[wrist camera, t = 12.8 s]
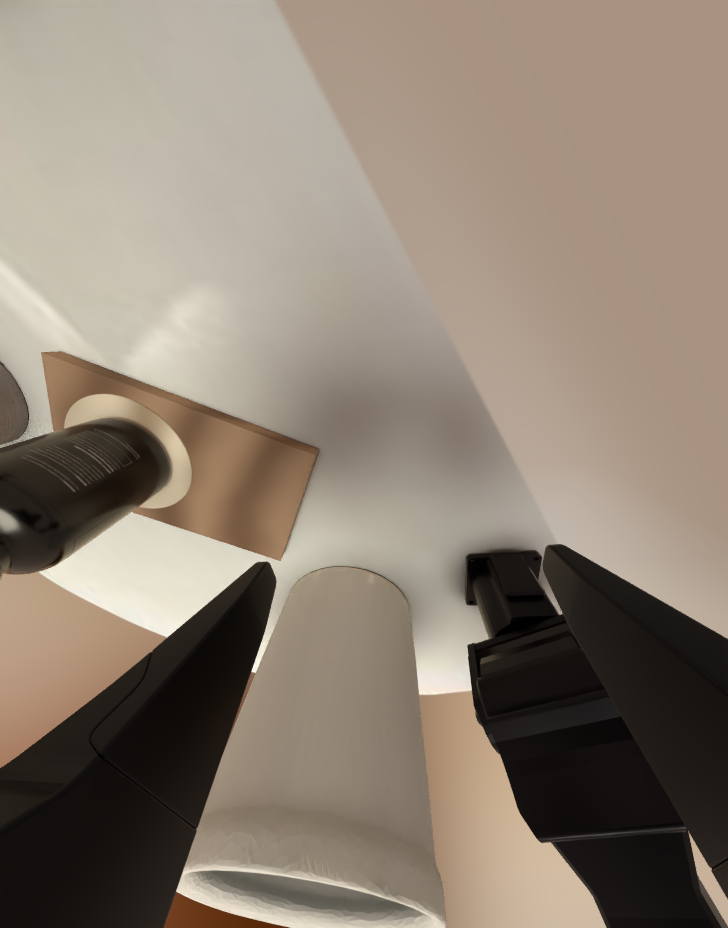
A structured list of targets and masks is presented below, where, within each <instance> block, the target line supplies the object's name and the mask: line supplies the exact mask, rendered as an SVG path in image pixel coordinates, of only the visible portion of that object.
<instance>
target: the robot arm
mask: <svg viewBox="0 0 728 928" xmlns="http://www.w3.org/2000/svg"><path fill="white" fill-rule="evenodd" d="M472 560H473V561H472ZM541 561H542V557H541V555H540V554H539V553H538V552H517V553H499V554H481V555H470V556H468V557H467V558H466V585H465V600H466V603H467V605H471V606H472V605H478V608H479V610H480V613H481V616H482V619H483V622H484V625H485V628H486V631H487V634H488V636H489V639H488V640H485V641H482V642H479V643H476V644H474V643H472V644H469V645H468V654H469V656H468V660H469V668H470V677H471V685H472V694H473V702H474V707H475V710H476V718H477V721H478V723H479V724H480V725H481V726H483V728H484V730H485V733H486V735H487V737H488V739H489V740H490V743H491V744H492V746H493V747H494V749H495V750H496V751H497V752H498V753H499V754H500V755H501V758H502V761H503V763H504V766H505V769H506V772H507V775H508V778H509V782H510V784H511V788H512V791H513V794H514V797H515V801H516V804H517V807H518V810H519V812H520V814H521V816H522V817H523V819H524V820H525V822H526V823H527V825H528V826H529V828H530V829H531V831H532V832H533V834H534V835H535V837H536V838H537V839H538V840H539V841H540V842H541V843H546V842H551V843H552V844H553V845H554V847H555V848H556V849H557V850H558V852H559V853H560V854H561V856H562V857H563V858H564V859H565V861H566V862H567V863H568V864H569V866H570V867H571V868H572V870H573V871H574V872H575V873H576V875H577V876H578V877H579V878H580V880H581V881H582V882H583V883H584V885H585V886H586V887H587V888H588V890H589V891H590V893H591V894H592V895H593V897H594V899H595V902H596V904H597V906H598V909H599V911H600V913H601V916H602V918H603V920H604V923H605V925H606V927H607V928H728V926H727V924H726V923H725V921H724V919H723V918H722V916H721V914H720V913H719V911H718V909H717V908H716V906H715V904H714V903H713V901H712V899H711V898H710V896H709V894H708V893H707V891H706V889H705V888H704V886H703V884H702V882H701V881H700V880H699V877H698V876H697V872H696V867H695V862H694V857H693V852H692V847H691V843H690V838H689V833H690V834H691V836H692V838H693V840H694V841H695V843H696V845H697V846H698V848H699V850H700V852H701V853H702V855H703V857H704V858H705V860H706V862H707V864H708V865H709V867H711V868H712V873H713V874H714V876H715V878H716V880H717V881H718V883H719V885H720V886H721V888H722V890H723V892H724V893H725V895H726V897H727V899H728V639H727V638H725V637H723V636H722V635H720V634H718V633H716V632H715V631H713V630H711V629H709V628H708V627H706V626H704V625H702V624H701V623H699V622H697V621H695V620H693V619H692V618H690V617H689V616H687V615H685V614H683V613H682V612H680V611H678V610H676V609H674V608H673V607H671V606H669V605H668V604H665V603H664V602H662V601H661V600H659V599H657V598H655V597H654V596H652V595H650V594H648V593H647V592H645V591H643V590H641V589H640V588H638V587H636V586H634V585H633V584H631V583H629V582H627V581H626V580H624V579H622V578H620V577H619V576H617V575H615V574H613V573H612V572H610V571H608V570H606V569H605V568H603V567H601V566H599V565H598V564H596V563H594V562H592V561H591V560H589V559H587V558H586V557H584V556H582V555H580V554H579V553H577V552H575V551H573V550H572V549H570V548H568V547H566V546H564V545H562V544H556V545H548V546H547V547H546V549H545V554H544V559H543V571H544V574H545V576H546V578H547V580H548V582H549V585H550V587H551V589H552V591H553V593H554V595H555V598H556V600H557V602H558V604H559V606H560V609H561V611H562V613H563V614H561V615H559V614H558V612H557V611H556V609H555V607H554V606H553V604H552V603H551V601H550V599H549V598H548V596H547V595H546V593H545V591H544V589H543V588H542V586H541V584H540V583H539V581H538V577H539V572H540V566H541ZM275 588H276V577H275V574H274V572H273V569H272V567H271V565H270V563H269V562H257V563H255V564H254V565H253V566H252V567H251V568H249V569H248V570H247V571H246V572H245V573H243V574H242V575H241V576H240V577H239V578H238V579H236V580H235V581H234V582H233V583H232V584H230V585H229V586H228V587H227V588H226V589H225V590H223V591H222V592H221V593H220V594H219V595H217V596H216V597H215V598H214V599H213V600H212V601H210V602H209V603H208V604H207V605H206V606H204V607H203V608H202V609H201V610H200V611H198V612H197V613H196V614H195V615H194V616H193V617H191V618H190V619H189V620H188V621H187V622H185V623H184V624H183V625H182V626H181V627H180V628H178V629H177V630H176V631H175V632H174V633H172V634H171V635H170V636H169V637H168V638H166V639H165V640H164V641H163V642H162V643H161V644H159V645H158V646H157V647H156V648H155V649H154V650H153V651H152V652H150V653H149V654H147V655H146V656H145V657H144V658H143V659H142V660H140V661H139V662H138V663H137V664H136V665H134V666H133V667H132V668H131V669H130V670H128V671H127V672H126V673H125V674H123V675H122V676H121V677H120V678H119V679H117V680H116V681H115V682H114V683H113V684H111V685H110V686H109V687H107V688H106V689H105V690H103V691H102V692H101V693H100V694H98V695H97V696H96V697H95V698H93V699H92V700H91V701H89V702H88V703H87V704H86V705H84V706H83V707H82V708H80V709H79V710H78V711H76V712H75V713H74V714H73V715H71V716H70V717H69V718H67V719H66V720H65V721H63V722H62V723H61V724H59V725H58V726H57V727H56V728H54V729H53V730H52V731H50V732H49V733H48V734H46V735H45V736H44V737H42V738H41V739H40V740H39V741H37V742H36V743H35V744H33V745H32V746H31V747H29V748H28V749H27V750H25V751H24V752H23V753H21V754H20V755H19V756H17V757H16V758H15V759H13V760H12V761H11V762H9V763H7V764H6V765H5V766H3V767H1V768H0V928H164V925H165V923H166V919H167V917H168V913H169V911H170V908H171V905H172V902H173V899H174V896H175V893H176V890H177V888H178V885H179V882H180V879H181V876H182V873H183V870H184V867H185V864H186V861H187V858H188V855H189V852H190V850H191V847H192V844H193V841H194V838H195V835H196V832H197V828H198V825H199V823H200V820H201V817H202V814H203V811H204V808H205V805H206V802H207V799H208V796H209V793H210V790H211V788H212V785H213V782H214V779H215V776H216V773H217V770H218V767H219V764H220V761H221V758H222V755H223V752H224V750H225V747H226V744H227V741H228V738H229V735H230V732H231V729H232V726H233V723H234V720H235V717H236V714H237V712H238V709H239V706H240V703H241V700H242V697H243V694H244V691H245V688H246V685H247V682H248V679H249V676H250V674H251V671H252V668H253V665H254V662H255V659H256V656H257V653H258V650H259V647H260V644H261V641H262V639H263V635H264V632H265V629H266V625H267V621H268V617H269V613H270V609H271V604H272V600H273V596H274V592H275ZM688 831H689V833H688Z"/></svg>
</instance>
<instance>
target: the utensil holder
mask: <svg viewBox="0 0 728 928" xmlns="http://www.w3.org/2000/svg"><path fill="white" fill-rule="evenodd" d="M430 810H431V809H430V799H429V789H428V778H427V768H426V759H425V749H424V741H423V731H422V721H421V711H420V702H419V691H418V679H417V669H416V659H415V650H414V642H413V634H412V626H411V618H410V611H409V606H408V603H407V601H406V599H405V597H404V595H403V594H402V593H401V591H400V590H399V589H398V588H397V587H396V586H395V585H394V584H392V583H391V582H390V581H388V580H386V579H385V578H383V577H381V576H379V575H377V574H374V573H372V572H369V571H366V570H362V569H358V568H350V567H330V568H324V569H320V570H317V571H314V572H312V573H310V574H308V575H306V576H304V577H303V578H301V579H300V580H299V581H298V582H297V583H296V584H295V585H294V587H293V588H292V590H291V592H290V594H289V596H288V598H287V600H286V603H285V605H284V607H283V610H282V612H281V615H280V617H279V619H278V621H277V624H276V626H275V628H274V631H273V633H272V635H271V638H270V640H269V643H268V645H267V647H266V650H265V652H264V655H263V657H262V660H261V662H260V664H259V667H258V669H257V672H256V674H255V677H254V679H253V682H252V684H251V687H250V689H249V692H248V694H247V697H246V699H245V702H244V704H243V707H242V709H241V711H240V714H239V716H238V719H237V721H236V724H235V726H234V729H233V731H232V734H231V736H230V738H229V741H228V743H227V746H226V748H225V751H224V753H223V756H222V758H221V761H220V764H219V767H218V770H217V773H216V776H215V779H214V782H213V785H212V788H211V790H210V793H209V796H208V799H207V802H206V805H205V808H204V811H203V814H202V817H201V820H200V823H199V825H198V828H197V832H196V835H195V838H194V841H193V844H192V847H191V850H190V852H189V855H188V858H187V861H186V864H185V867H184V870H183V873H182V876H181V879H180V882H179V885H178V888H177V890H176V892H178V893H180V894H182V895H184V896H186V897H188V898H190V899H192V900H195V901H197V902H200V903H202V904H205V905H208V906H211V907H213V908H216V909H219V910H222V911H226V912H229V913H232V914H236V915H240V916H243V917H248V918H252V919H256V920H260V921H264V922H268V923H273V924H277V925H281V926H286V927H291V928H446V911H445V901H444V892H443V886H442V881H441V877H440V874H439V871H438V868H437V866H436V862H435V852H434V841H433V831H432V821H431V811H430Z"/></svg>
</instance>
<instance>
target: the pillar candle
mask: <svg viewBox="0 0 728 928" xmlns="http://www.w3.org/2000/svg"><path fill="white" fill-rule="evenodd" d="M24 400H25V399H24V396H23V394H22V392H21V390H20V389H19V387H18V385H17V382H16V381H15V379H14V378H13V376H12V375H11V374H10V373H9V372H8V370H7V369H5V367H4V366H3V365H1V364H0V445H1V444H4V443H7V442H11V441H13V440H15V439H18V438H19V437H20V436H21V435H22V434H23V433H24V431H25V430H26V427H27V423H28V410H27V405H26V403H25V401H24Z"/></svg>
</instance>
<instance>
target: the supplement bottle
mask: <svg viewBox="0 0 728 928" xmlns="http://www.w3.org/2000/svg"><path fill="white" fill-rule="evenodd" d="M169 475H170V466H169V461H168V458H167V456H166V454H165V452H164V450H163V449H162V447H161V446H160V444H159V443H158V442H157V441H156V440H155V439H154V438H153V437H152V436H151V435H150V434H149V433H147V432H146V431H145V430H143V429H142V428H140V427H138V426H137V425H135V424H132V423H130V422H127V421H124V420H121V419H115V418H100V419H95V420H92V421H88V422H85V423H81V424H78V425H74V426H71V427H68V428H65V429H61V430H58V431H55V432H52V433H48V434H45V435H42V436H39V437H35V438H32V439H29V440H26V441H22V442H19V443H16V444H13V445H9V446H6V447H3V448H0V580H1V577H2V574H13V575H15V574H16V575H17V574H30V573H35V572H39V571H43V570H46V569H48V568H51V567H53V566H55V565H57V564H59V563H60V562H62V561H63V560H65V559H66V558H68V557H69V556H71V555H72V554H73V553H75V552H76V551H78V550H79V549H80V548H82V547H83V546H85V545H86V544H87V543H89V542H90V541H92V540H93V539H94V538H96V537H97V536H98V535H100V534H101V533H103V532H104V531H105V530H107V529H108V528H110V527H111V526H112V525H114V524H115V523H117V522H118V521H119V520H121V519H122V518H124V517H125V516H126V515H128V514H129V513H131V512H132V511H133V510H135V509H136V508H138V507H139V506H140V505H142V504H143V503H145V502H146V501H147V500H149V499H150V498H151V497H153V496H154V495H155V494H157V493H158V492H159V491H161V490H162V489H163V488H164V487H165V485H166V484H167V482H168V479H169Z"/></svg>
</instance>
